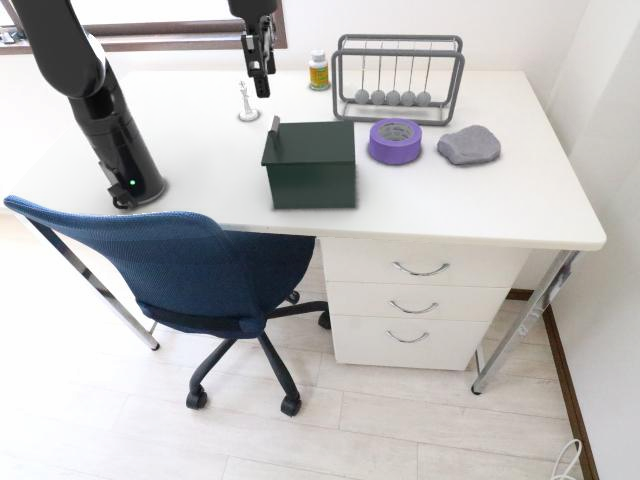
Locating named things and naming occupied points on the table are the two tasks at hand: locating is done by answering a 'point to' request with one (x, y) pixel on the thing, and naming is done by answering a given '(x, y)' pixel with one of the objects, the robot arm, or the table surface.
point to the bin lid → (309, 143)
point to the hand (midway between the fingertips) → (267, 84)
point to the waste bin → (312, 186)
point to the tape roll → (395, 150)
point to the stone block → (469, 145)
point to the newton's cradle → (394, 96)
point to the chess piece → (246, 105)
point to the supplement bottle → (318, 70)
